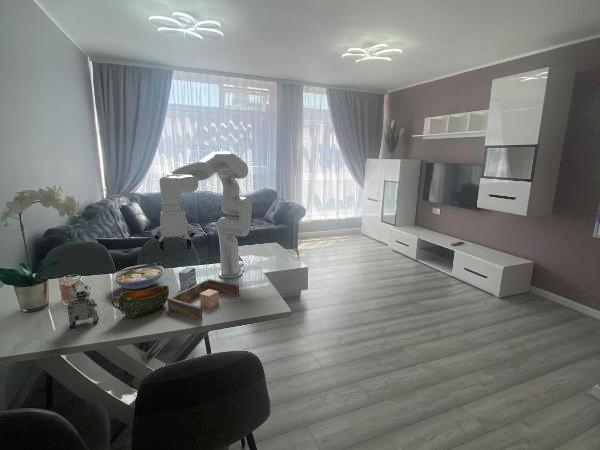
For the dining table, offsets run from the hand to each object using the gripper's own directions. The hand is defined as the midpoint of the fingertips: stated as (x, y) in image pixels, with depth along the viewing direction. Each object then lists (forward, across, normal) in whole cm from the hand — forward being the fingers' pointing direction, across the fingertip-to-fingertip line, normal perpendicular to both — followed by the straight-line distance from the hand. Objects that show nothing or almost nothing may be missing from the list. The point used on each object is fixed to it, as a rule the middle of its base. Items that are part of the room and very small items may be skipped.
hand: (176, 249), depth 130 cm
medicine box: (+26, -2, -22) cm, 35 cm away
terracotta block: (+26, -12, 0) cm, 29 cm away
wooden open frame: (+26, -10, -2) cm, 28 cm away
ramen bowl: (+26, +21, -29) cm, 44 cm away
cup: (+26, +15, -1) cm, 30 cm away
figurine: (+26, +35, +2) cm, 44 cm away
